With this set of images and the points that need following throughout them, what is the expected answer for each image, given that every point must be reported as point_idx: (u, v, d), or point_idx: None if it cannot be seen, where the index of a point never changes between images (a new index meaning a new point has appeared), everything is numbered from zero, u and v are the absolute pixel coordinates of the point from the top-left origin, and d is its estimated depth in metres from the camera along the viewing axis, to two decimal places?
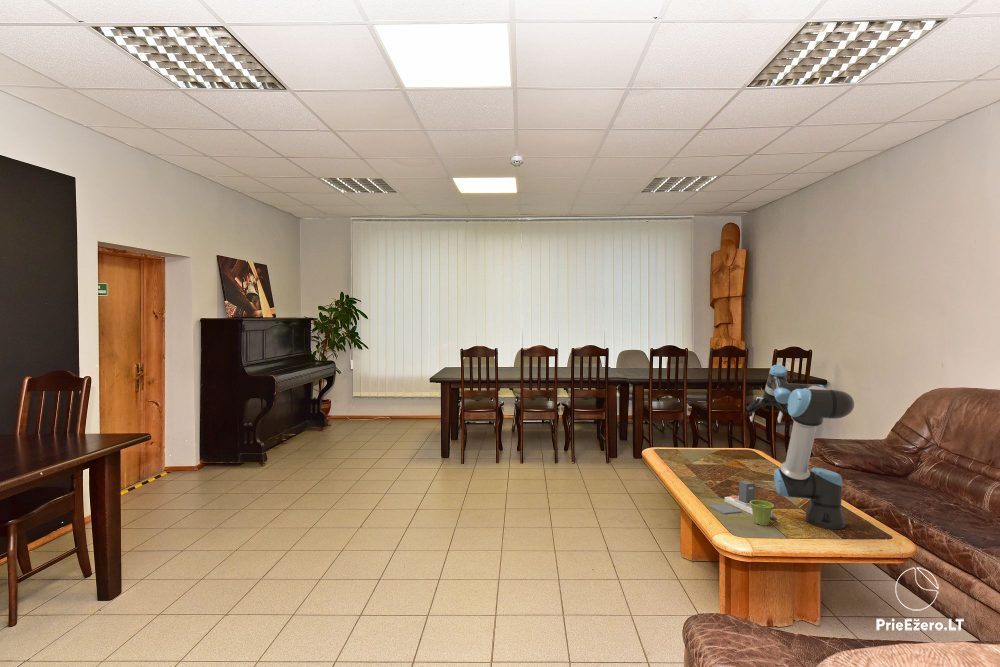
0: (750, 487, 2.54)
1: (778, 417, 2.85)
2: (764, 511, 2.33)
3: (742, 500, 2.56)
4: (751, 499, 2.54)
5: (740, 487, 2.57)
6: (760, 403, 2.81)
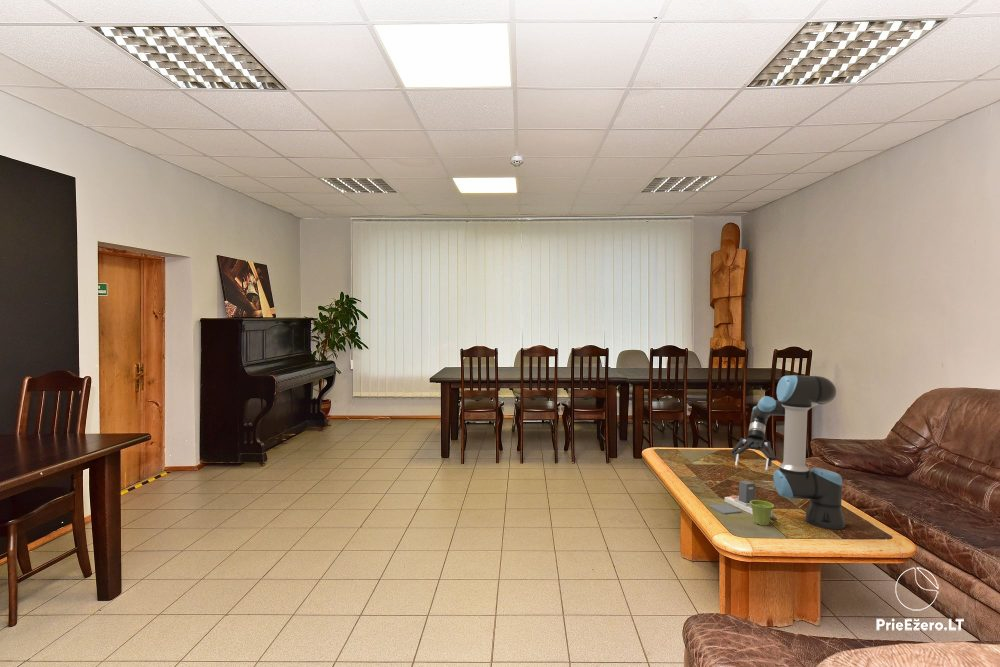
0: (750, 487, 2.54)
1: (766, 468, 2.63)
2: (764, 511, 2.33)
3: (742, 500, 2.56)
4: (751, 499, 2.54)
5: (740, 487, 2.57)
6: None
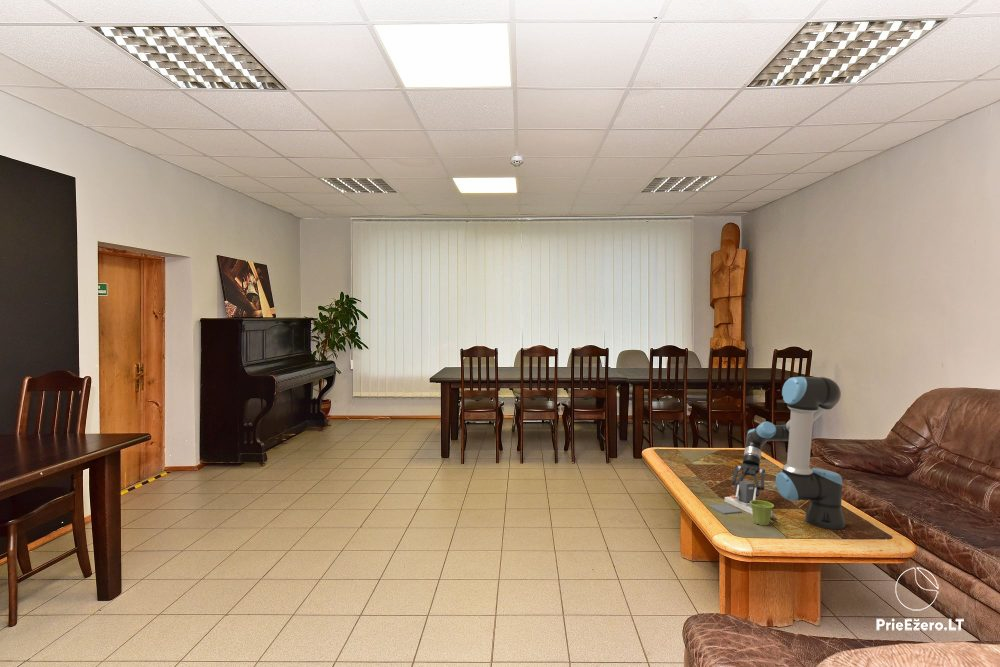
0: (750, 487, 2.54)
1: None
2: (764, 511, 2.33)
3: (742, 500, 2.56)
4: (751, 499, 2.54)
5: (740, 487, 2.57)
6: None
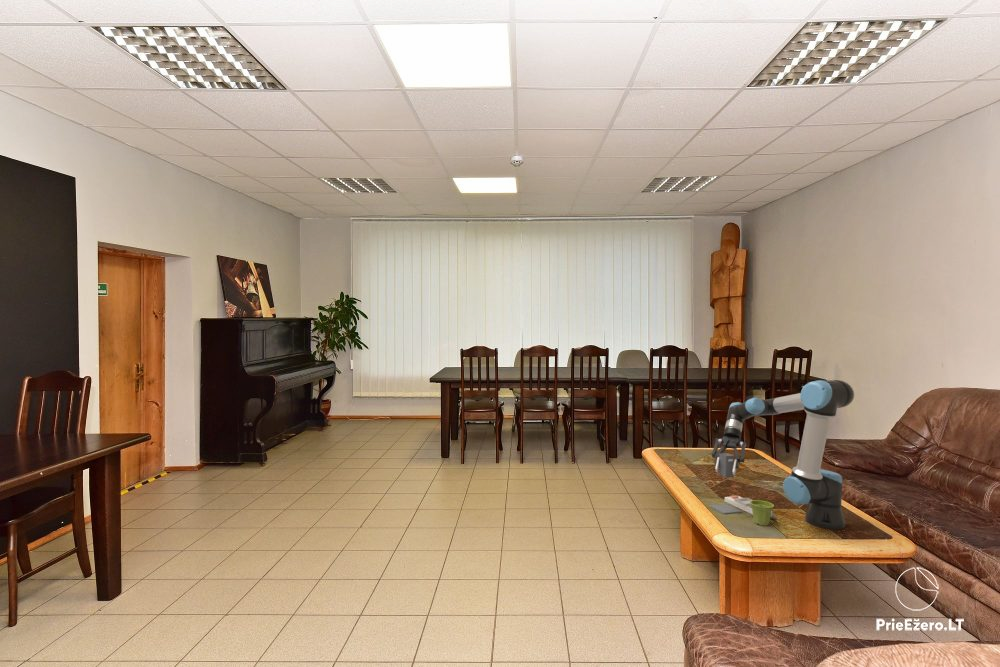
0: (729, 459, 2.50)
1: None
2: (764, 511, 2.33)
3: (722, 472, 2.52)
4: (731, 471, 2.51)
5: (720, 459, 2.53)
6: None
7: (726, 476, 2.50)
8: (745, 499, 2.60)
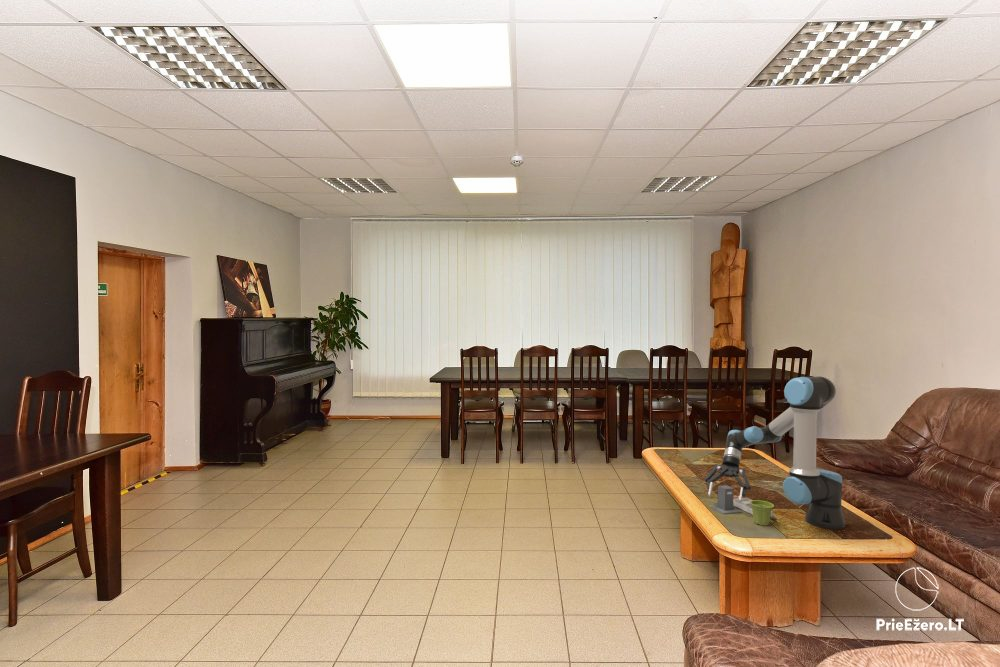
0: (728, 492, 2.50)
1: None
2: (764, 511, 2.33)
3: (721, 505, 2.52)
4: (730, 504, 2.51)
5: (719, 492, 2.54)
6: None
7: (725, 509, 2.50)
8: (745, 499, 2.60)
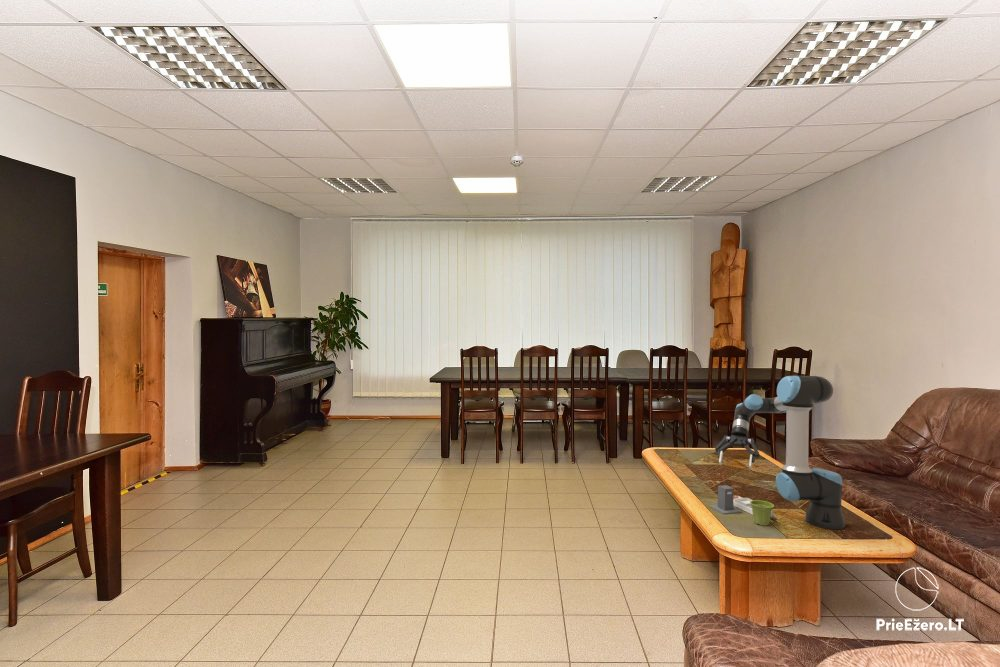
0: (728, 492, 2.50)
1: None
2: (764, 511, 2.33)
3: (721, 505, 2.52)
4: (730, 504, 2.51)
5: (719, 492, 2.54)
6: None
7: (725, 509, 2.50)
8: (745, 499, 2.60)
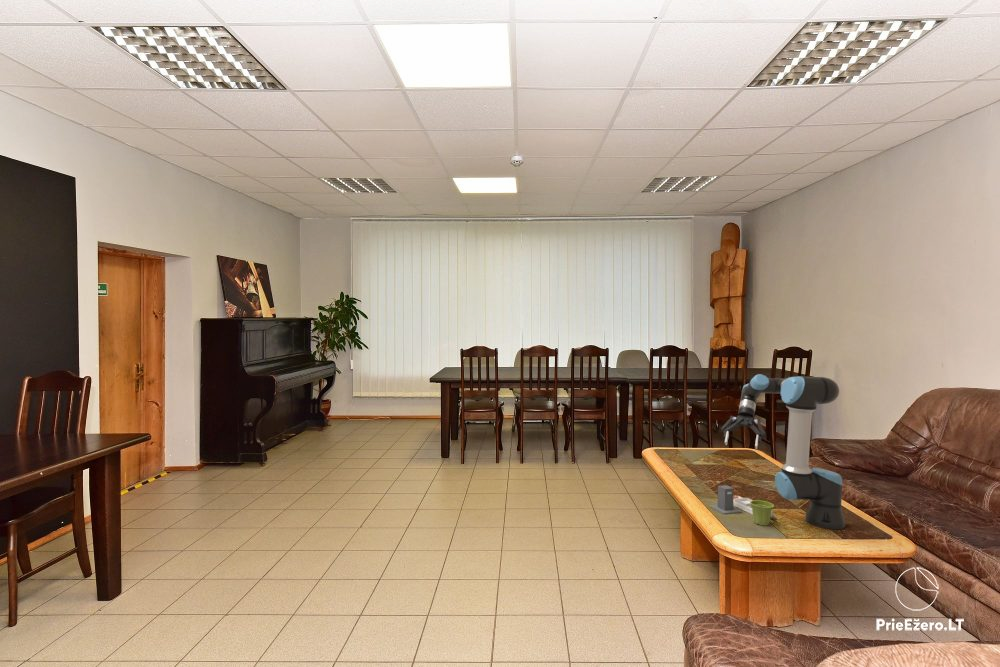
0: (728, 492, 2.50)
1: None
2: (764, 511, 2.33)
3: (721, 505, 2.52)
4: (730, 504, 2.51)
5: (719, 492, 2.54)
6: None
7: (725, 509, 2.50)
8: (745, 499, 2.60)
